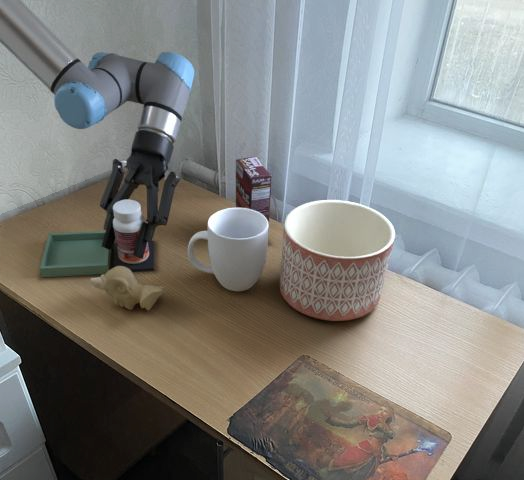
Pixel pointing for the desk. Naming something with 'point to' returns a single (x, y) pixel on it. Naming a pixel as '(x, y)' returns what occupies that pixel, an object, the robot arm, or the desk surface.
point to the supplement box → (253, 186)
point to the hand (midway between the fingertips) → (122, 252)
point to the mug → (234, 247)
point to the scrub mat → (143, 266)
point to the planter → (335, 259)
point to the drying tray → (75, 254)
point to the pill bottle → (128, 230)
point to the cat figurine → (127, 288)
